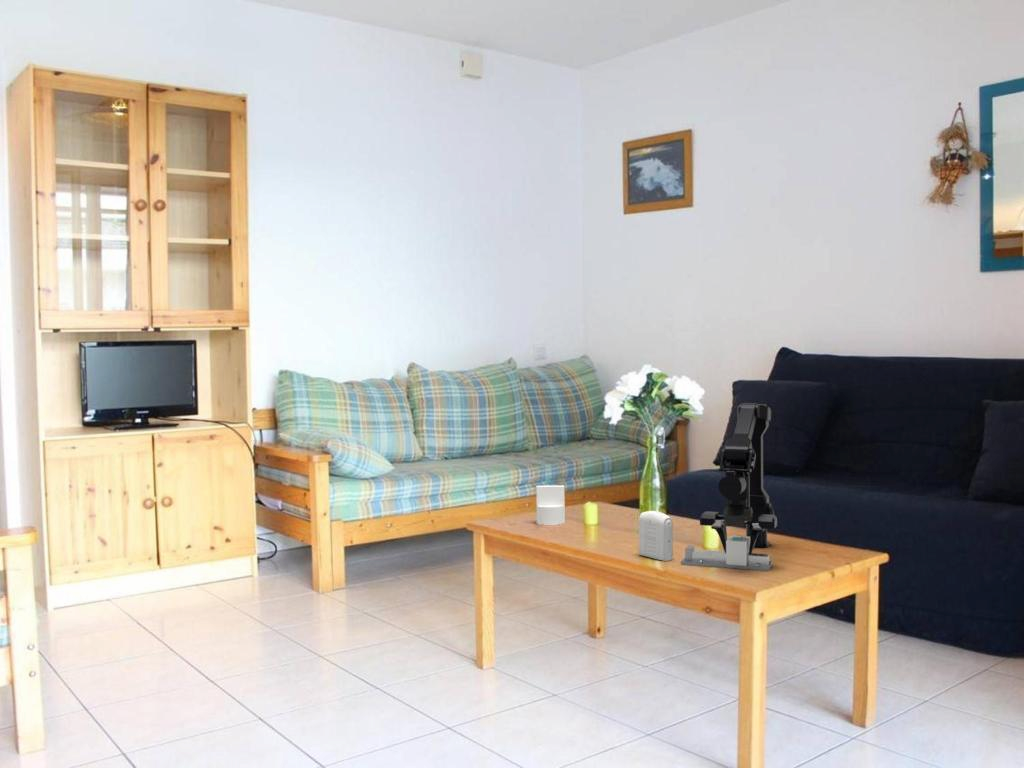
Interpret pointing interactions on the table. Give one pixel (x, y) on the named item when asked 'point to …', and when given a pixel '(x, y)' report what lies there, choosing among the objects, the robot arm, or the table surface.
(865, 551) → the table surface
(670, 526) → the photo printer
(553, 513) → the cylinder with rectangular tab
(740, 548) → the module
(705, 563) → the rail panel
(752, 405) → the robot arm
